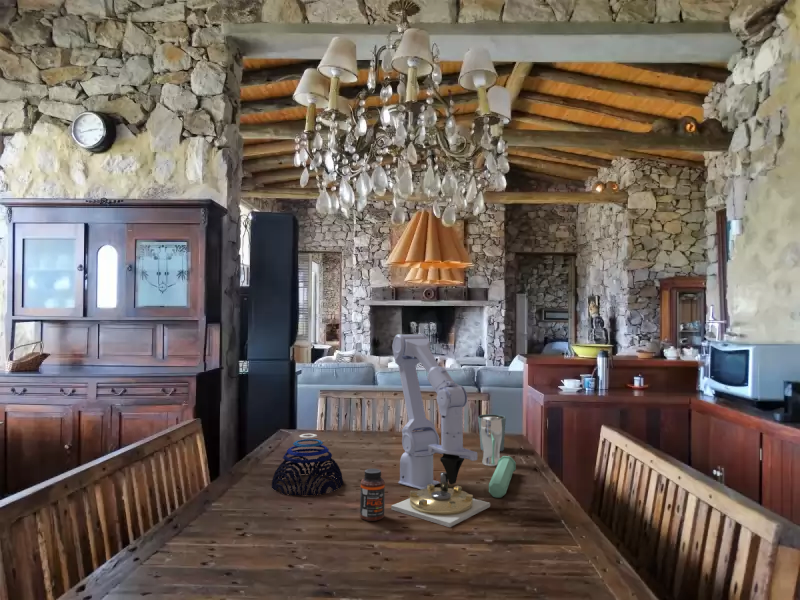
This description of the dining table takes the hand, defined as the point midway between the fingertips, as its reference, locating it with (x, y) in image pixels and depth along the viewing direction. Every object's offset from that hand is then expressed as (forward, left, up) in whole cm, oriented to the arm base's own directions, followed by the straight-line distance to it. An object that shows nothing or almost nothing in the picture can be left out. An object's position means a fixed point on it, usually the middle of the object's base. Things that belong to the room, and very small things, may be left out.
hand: (452, 483), depth 144 cm
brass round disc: (+1, -6, -3) cm, 7 cm away
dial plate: (+1, -6, -5) cm, 8 cm away
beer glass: (-11, +39, -5) cm, 40 cm away
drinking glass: (-21, +56, -5) cm, 60 cm away
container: (+3, +21, -5) cm, 22 cm away
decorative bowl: (-40, -16, -5) cm, 43 cm away
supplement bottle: (-8, -22, -5) cm, 24 cm away
